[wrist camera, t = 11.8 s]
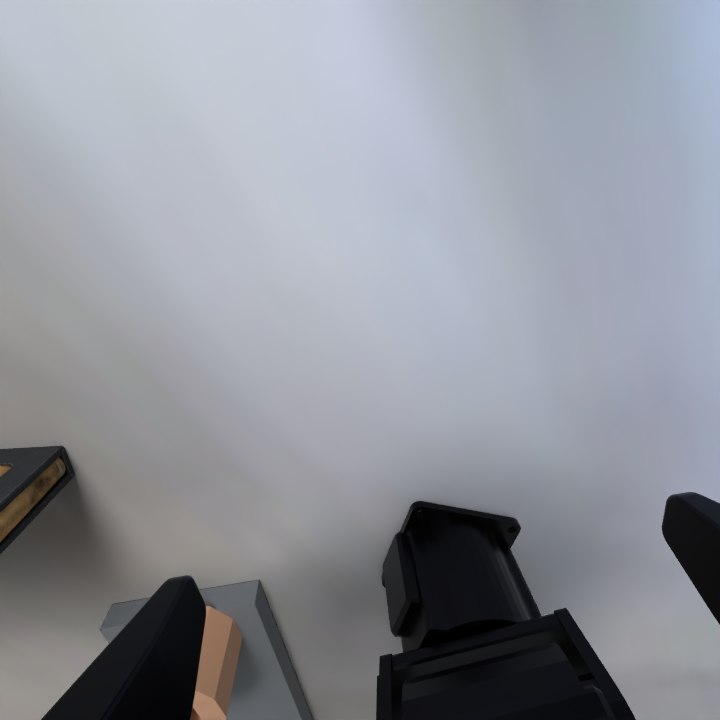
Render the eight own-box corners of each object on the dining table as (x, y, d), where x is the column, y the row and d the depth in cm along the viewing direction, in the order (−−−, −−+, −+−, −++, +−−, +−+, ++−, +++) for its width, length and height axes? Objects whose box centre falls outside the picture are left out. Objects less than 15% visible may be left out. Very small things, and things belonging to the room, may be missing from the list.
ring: (249, 612, 24) (233, 691, 20) (231, 674, 26) (214, 756, 22) (139, 596, 23) (102, 677, 19) (131, 663, 25) (96, 747, 21)
